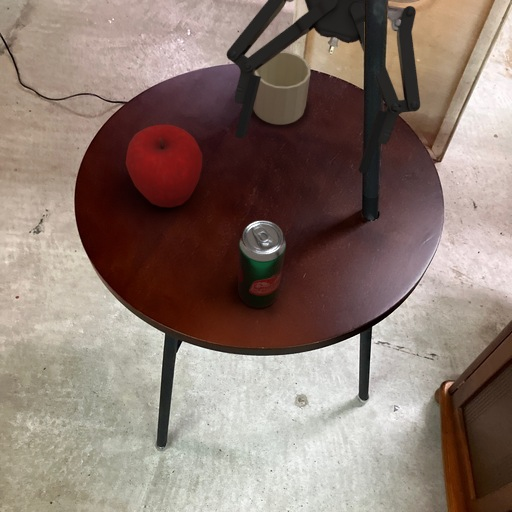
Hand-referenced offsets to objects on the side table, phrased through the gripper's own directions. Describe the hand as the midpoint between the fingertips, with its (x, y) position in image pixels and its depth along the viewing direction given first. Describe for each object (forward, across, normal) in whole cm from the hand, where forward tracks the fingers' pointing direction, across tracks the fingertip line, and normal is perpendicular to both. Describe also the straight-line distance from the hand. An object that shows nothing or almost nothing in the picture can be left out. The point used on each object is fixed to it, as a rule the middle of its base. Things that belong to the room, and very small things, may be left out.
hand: (301, 154), depth 59 cm
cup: (-3, +6, -29) cm, 30 cm away
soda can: (+18, 0, -4) cm, 18 cm away
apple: (+12, +16, -13) cm, 24 cm away
